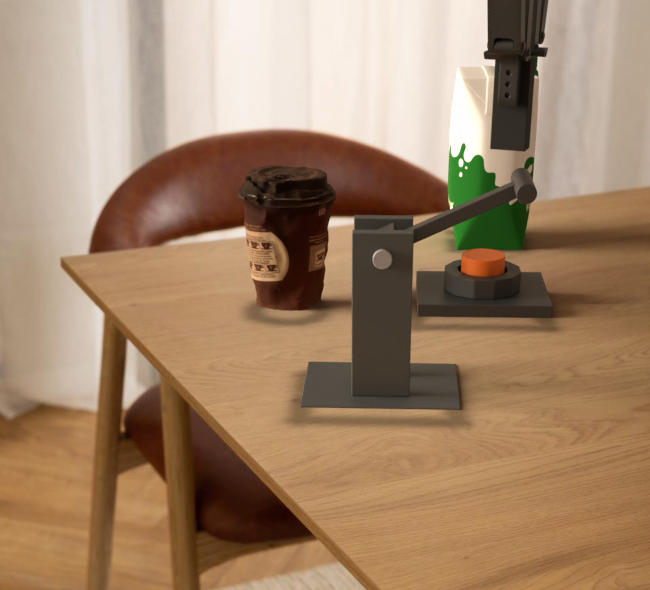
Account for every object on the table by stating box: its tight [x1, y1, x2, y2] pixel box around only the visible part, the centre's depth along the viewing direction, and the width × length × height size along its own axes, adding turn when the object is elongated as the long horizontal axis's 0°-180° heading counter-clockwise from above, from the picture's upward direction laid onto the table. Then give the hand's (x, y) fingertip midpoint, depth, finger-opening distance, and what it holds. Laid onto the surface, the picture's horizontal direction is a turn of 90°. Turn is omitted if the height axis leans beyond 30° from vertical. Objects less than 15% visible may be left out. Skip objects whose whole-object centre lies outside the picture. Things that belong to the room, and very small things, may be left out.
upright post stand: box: [299, 214, 461, 411], centre depth 90 cm, size 12×9×14 cm
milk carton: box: [447, 56, 540, 251], centre depth 126 cm, size 9×9×20 cm
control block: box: [415, 259, 554, 319], centre depth 110 cm, size 12×10×4 cm
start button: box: [460, 248, 506, 277], centre depth 109 cm, size 4×4×2 cm
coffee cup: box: [237, 164, 337, 312], centre depth 108 cm, size 9×8×13 cm
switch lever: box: [377, 168, 538, 244], centre depth 86 cm, size 13×5×2 cm, turn 87°
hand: (509, 148), depth 91 cm, fingers closed
